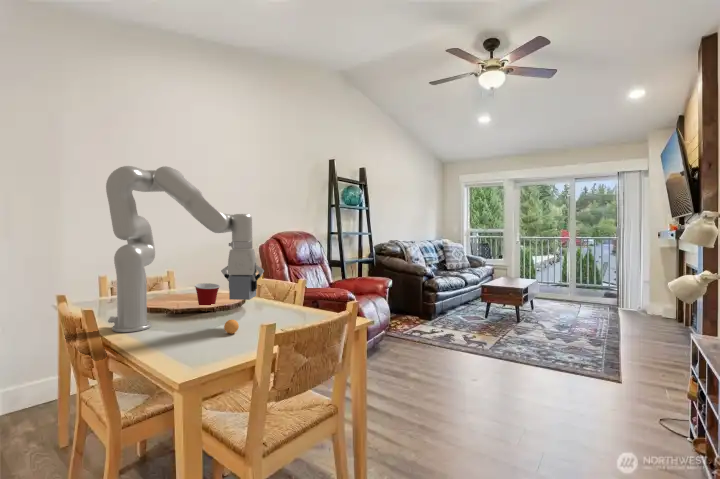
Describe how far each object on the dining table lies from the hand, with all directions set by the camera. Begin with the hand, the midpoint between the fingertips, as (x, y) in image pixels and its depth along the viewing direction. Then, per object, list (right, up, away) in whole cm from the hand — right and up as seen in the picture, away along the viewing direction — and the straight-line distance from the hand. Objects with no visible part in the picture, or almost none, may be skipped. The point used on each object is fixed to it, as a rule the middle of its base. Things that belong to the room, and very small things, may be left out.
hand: (243, 290), depth 148 cm
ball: (-1, -12, -10) cm, 15 cm away
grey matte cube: (0, -3, 0) cm, 3 cm away
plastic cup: (-23, -13, +24) cm, 36 cm away
